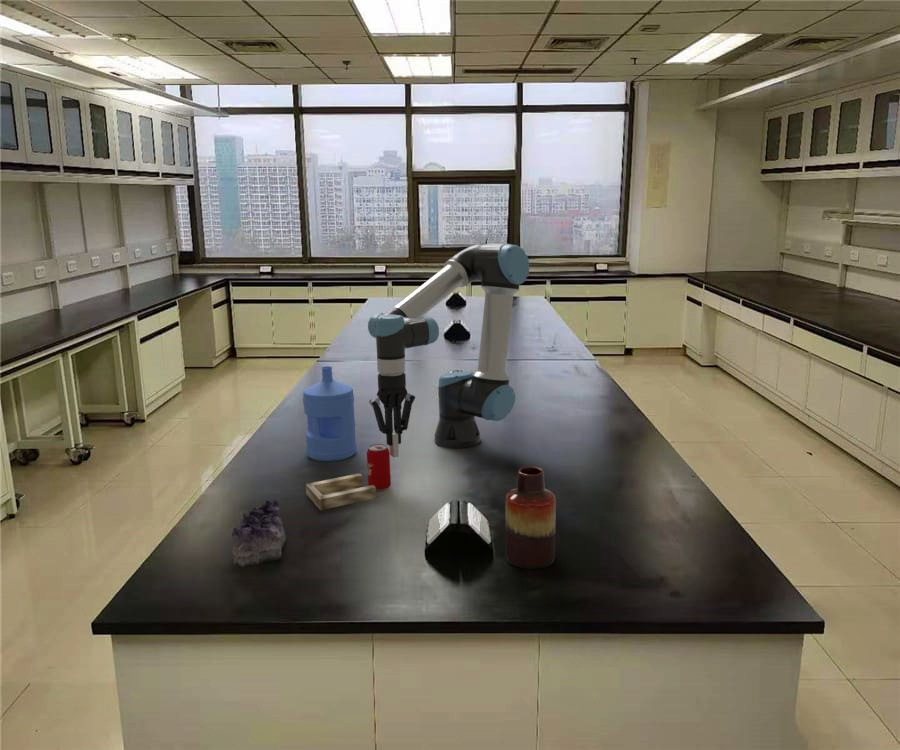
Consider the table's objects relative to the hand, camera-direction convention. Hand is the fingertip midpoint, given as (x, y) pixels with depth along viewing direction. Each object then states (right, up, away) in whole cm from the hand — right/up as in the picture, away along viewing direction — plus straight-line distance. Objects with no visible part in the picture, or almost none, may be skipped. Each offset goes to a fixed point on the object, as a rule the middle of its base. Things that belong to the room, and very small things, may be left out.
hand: (394, 455), depth 196 cm
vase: (+33, -18, -40) cm, 55 cm away
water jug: (-22, -3, +28) cm, 36 cm away
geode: (-28, -18, -34) cm, 47 cm away
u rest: (-14, -10, -5) cm, 18 cm away
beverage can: (-4, -9, 0) cm, 10 cm away
